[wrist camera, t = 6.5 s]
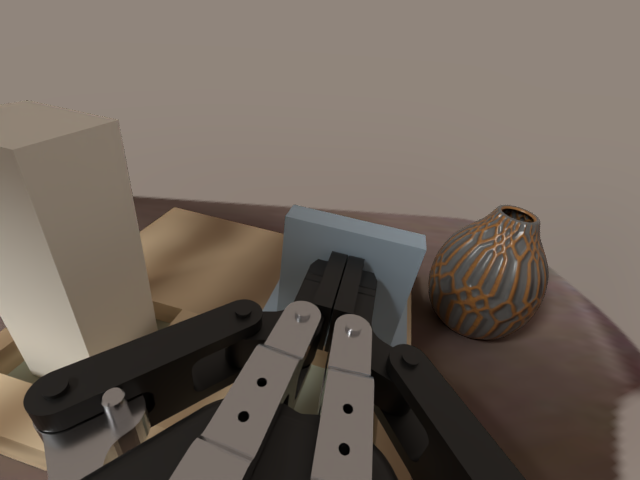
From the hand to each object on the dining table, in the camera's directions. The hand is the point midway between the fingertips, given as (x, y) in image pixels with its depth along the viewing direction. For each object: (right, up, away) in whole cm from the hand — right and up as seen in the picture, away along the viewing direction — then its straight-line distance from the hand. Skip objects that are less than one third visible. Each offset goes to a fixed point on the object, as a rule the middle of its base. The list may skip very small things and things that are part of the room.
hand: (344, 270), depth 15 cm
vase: (+10, -5, +10) cm, 14 cm away
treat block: (-13, -5, +3) cm, 14 cm away
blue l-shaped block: (0, -2, +6) cm, 7 cm away
